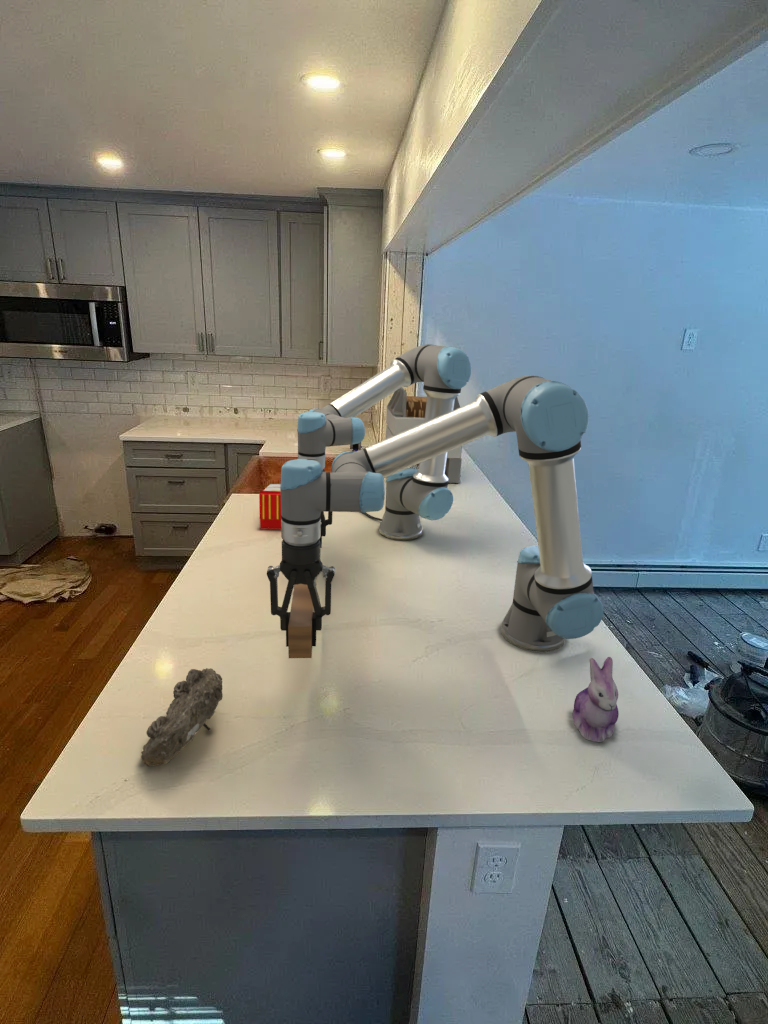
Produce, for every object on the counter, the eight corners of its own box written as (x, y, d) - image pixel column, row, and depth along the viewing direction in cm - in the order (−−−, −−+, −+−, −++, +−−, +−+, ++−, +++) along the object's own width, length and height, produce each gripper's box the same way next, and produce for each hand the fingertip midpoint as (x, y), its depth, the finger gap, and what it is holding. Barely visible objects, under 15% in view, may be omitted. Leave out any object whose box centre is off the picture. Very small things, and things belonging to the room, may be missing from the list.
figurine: (597, 751, 104) (612, 683, 98) (557, 717, 112) (569, 652, 107) (633, 736, 108) (649, 669, 103) (592, 704, 116) (605, 641, 111)
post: (304, 541, 170) (304, 518, 167) (319, 541, 170) (319, 518, 168) (288, 658, 113) (288, 626, 111) (311, 658, 114) (311, 626, 111)
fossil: (171, 669, 114) (224, 637, 109) (205, 700, 117) (257, 670, 112) (115, 759, 95) (175, 724, 90) (157, 793, 97) (218, 762, 92)
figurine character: (361, 456, 307) (362, 446, 320) (362, 442, 303) (362, 433, 317) (349, 455, 306) (350, 446, 320) (349, 442, 303) (350, 433, 316)
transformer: (382, 463, 289) (386, 382, 275) (445, 464, 293) (451, 384, 279) (390, 482, 257) (394, 392, 243) (460, 483, 261) (468, 394, 247)
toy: (299, 479, 223) (289, 492, 194) (299, 512, 226) (289, 530, 197) (268, 478, 223) (253, 491, 193) (268, 512, 225) (254, 529, 196)
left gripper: (278, 471, 153) (279, 551, 161) (343, 473, 155) (341, 551, 163) (280, 464, 160) (281, 540, 168) (343, 466, 162) (341, 541, 170)
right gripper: (252, 546, 106) (255, 653, 114) (347, 547, 107) (344, 653, 115) (257, 531, 113) (260, 633, 121) (346, 532, 114) (343, 632, 122)
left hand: (311, 545), depth 165 cm, fingers closed on post, 5 cm apart
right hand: (301, 642), depth 118 cm, fingers closed on post, 5 cm apart
